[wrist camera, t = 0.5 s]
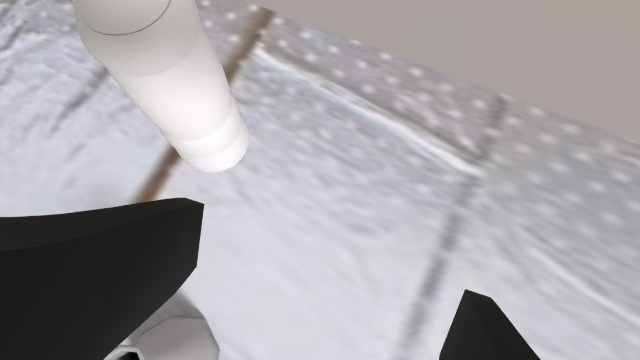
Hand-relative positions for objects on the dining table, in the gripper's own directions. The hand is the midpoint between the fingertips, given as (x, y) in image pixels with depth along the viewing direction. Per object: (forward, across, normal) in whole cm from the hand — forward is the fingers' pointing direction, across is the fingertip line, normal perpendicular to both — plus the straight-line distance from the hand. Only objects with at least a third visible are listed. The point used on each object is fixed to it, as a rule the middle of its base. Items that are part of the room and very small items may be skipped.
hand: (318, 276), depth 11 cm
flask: (+16, +12, +22) cm, 30 cm away
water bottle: (+27, +17, +7) cm, 33 cm away
